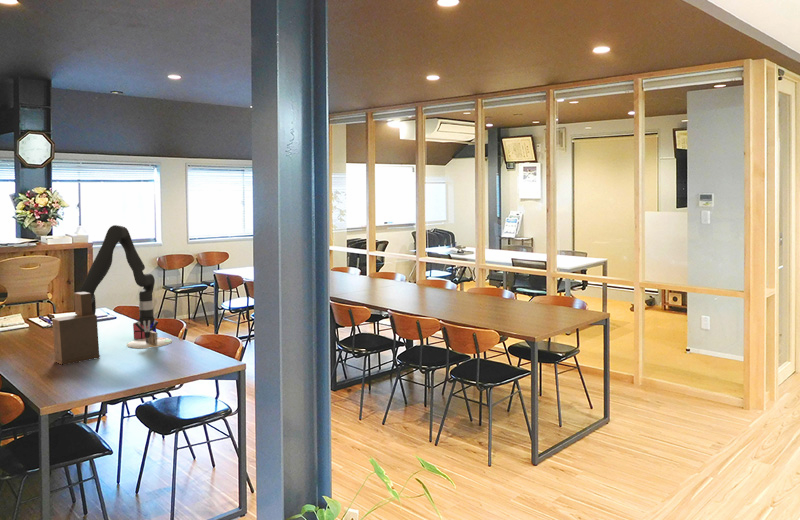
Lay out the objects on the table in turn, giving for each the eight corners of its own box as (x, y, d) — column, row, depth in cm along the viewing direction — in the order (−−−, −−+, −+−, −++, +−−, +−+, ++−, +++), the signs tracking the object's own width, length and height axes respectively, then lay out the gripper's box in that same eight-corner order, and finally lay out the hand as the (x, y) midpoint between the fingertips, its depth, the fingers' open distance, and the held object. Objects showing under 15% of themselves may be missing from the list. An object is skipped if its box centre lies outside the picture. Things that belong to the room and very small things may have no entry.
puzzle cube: (149, 339, 382) (149, 323, 381) (133, 339, 382) (132, 323, 381) (156, 335, 392) (155, 319, 391) (140, 335, 392) (139, 320, 391)
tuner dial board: (131, 350, 353) (131, 349, 353) (122, 342, 374) (122, 341, 373) (177, 344, 368) (177, 342, 367) (165, 336, 388) (165, 335, 388)
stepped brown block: (89, 353, 347) (85, 291, 344) (99, 357, 338) (95, 293, 334) (52, 360, 334) (47, 295, 330) (61, 365, 324) (57, 298, 320)
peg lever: (144, 341, 371) (144, 329, 370) (151, 340, 373) (151, 328, 372) (153, 346, 359) (152, 333, 358) (160, 345, 362) (159, 332, 361)
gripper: (133, 310, 354) (134, 340, 356) (158, 308, 359) (159, 338, 361) (134, 308, 361) (135, 337, 363) (158, 306, 366) (159, 335, 368)
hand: (147, 337), depth 362 cm, fingers closed
